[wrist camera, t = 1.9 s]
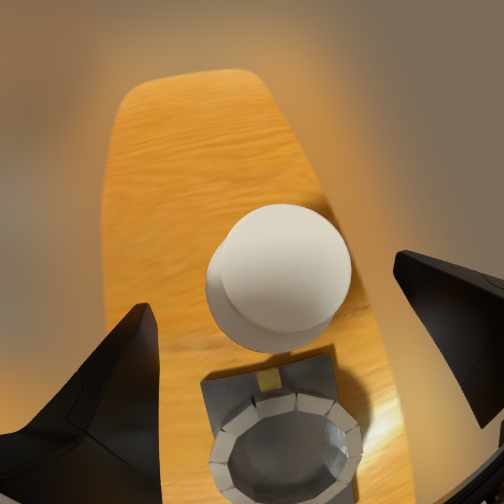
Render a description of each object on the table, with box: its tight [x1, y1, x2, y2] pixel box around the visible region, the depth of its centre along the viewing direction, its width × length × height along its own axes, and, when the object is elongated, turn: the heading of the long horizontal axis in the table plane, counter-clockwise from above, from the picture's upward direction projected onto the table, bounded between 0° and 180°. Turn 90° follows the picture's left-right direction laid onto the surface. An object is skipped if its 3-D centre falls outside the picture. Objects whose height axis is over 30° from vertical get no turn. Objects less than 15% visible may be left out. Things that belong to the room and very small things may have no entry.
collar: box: [209, 368, 363, 504], centre depth 13 cm, size 10×9×2 cm
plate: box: [200, 353, 354, 504], centre depth 13 cm, size 14×8×1 cm, turn 12°
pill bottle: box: [205, 204, 351, 353], centre depth 12 cm, size 5×5×10 cm
